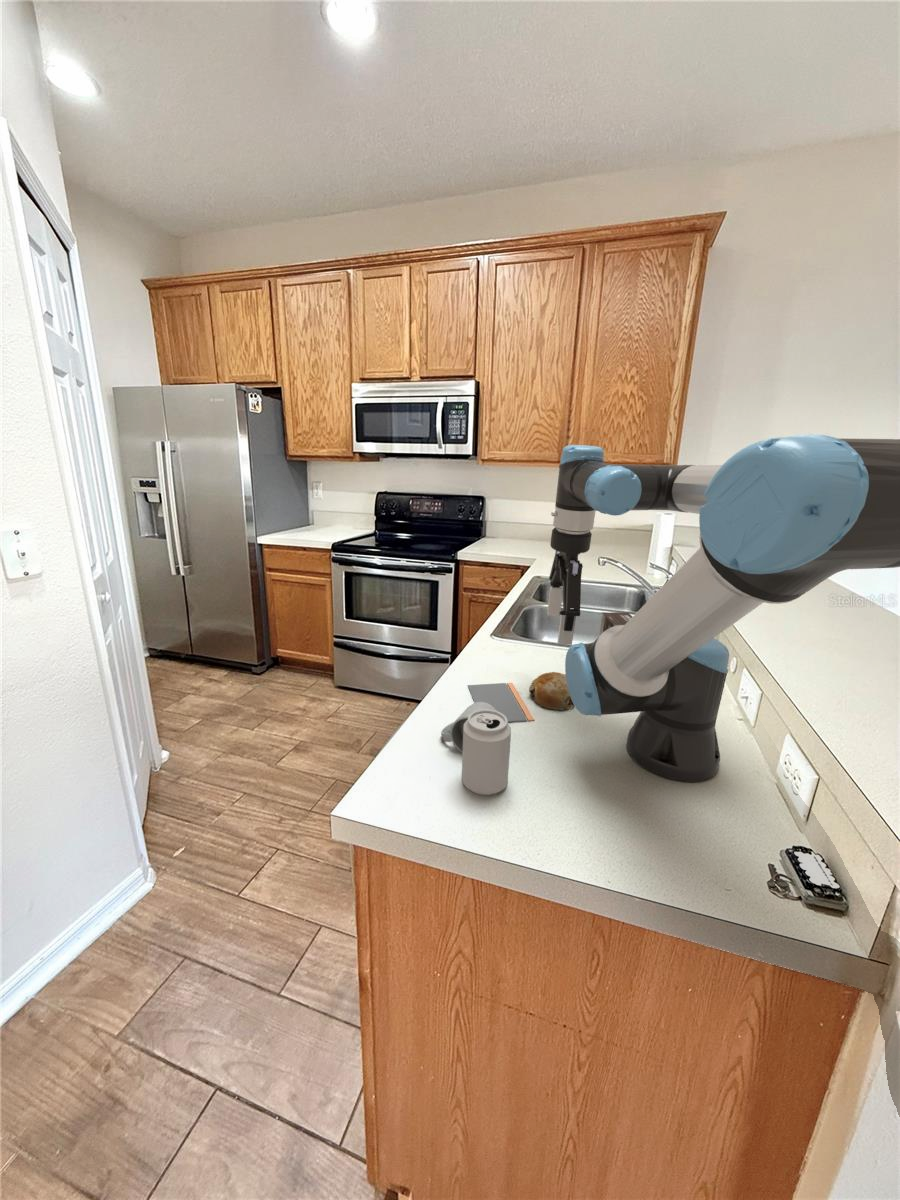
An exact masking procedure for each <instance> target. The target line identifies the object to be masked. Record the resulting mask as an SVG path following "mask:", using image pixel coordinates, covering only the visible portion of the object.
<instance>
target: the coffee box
mask: <svg viewBox="0 0 900 1200" xmlns="http://www.w3.org/2000/svg"><path fill="white" fill-rule="evenodd" d="M632 617H633V615H631V613H630V612H624V611H623V612H620V611H619V612H618V611H617V612H616V611H615V612H612V611H611V612H604V611H603V612H601V619H600V629H599V636H600V635H601V634H602V633H603V632H604V631H606V630H607V629H609V628H611V627H614V626H618V625H625V624H626V623H627V622H628V621H629V620H630V619H631V618H632ZM599 636H598V637H599Z"/></svg>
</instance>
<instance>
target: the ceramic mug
mask: <svg viewBox="0 0 900 1200" xmlns="http://www.w3.org/2000/svg"><path fill="white" fill-rule="evenodd" d="M483 709H488V710H495V711H497V709H496V708H495V707H494V706H493V705H491V704H489V703H487V702H476V703H474V702H473V703H472V704H470V705H468V707H466V709H464V711H463V712H462V713H461V714H460V715H459V716H458V717H457V718H456V719H455V720H454V722H451V723H449V724H448V725H446V726H444V728H443V729H441V732H440V735H441V738H442V740H443V742H446V743H452V744H453V745H454V747H455V748H456V749H457V750H458V751H459V752H460V753H462V754H463V728H464V723H465V722H466V721H467V720H468V716H469V715H470V714H471V713H473V712H474V711H477V710H483Z"/></svg>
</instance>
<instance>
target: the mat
mask: <svg viewBox="0 0 900 1200" xmlns="http://www.w3.org/2000/svg"><path fill="white" fill-rule="evenodd" d="M507 684H508V685H507ZM467 688H468V691H469V693H470V696H471V695H472V696H471V698H472V701H473V703H476V702H487V703H489V704H491V705H493V706H494V707H495V708H496V709H497V711H498V712H500V713H502V714H503V715H504V716H506V718H507V720H508V724H509V723H525V722H535V719H534V717H533V715H532V713H531V712H530V710H529V709H528V708H529V707H528V706H527V705H526V703H525V702H524V700H523V698H522V697H521V695H520V693H519V692H518V690H517V688H516V687H515V685H514V683H513V682H499V683H498V682H497V683H482V684H481V683H480V684H467ZM511 691H512V692H511Z"/></svg>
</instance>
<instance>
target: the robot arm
mask: <svg viewBox="0 0 900 1200" xmlns="http://www.w3.org/2000/svg"><path fill="white" fill-rule="evenodd" d="M604 452H605V451H604V449H603V448H602V447H600V446H597V445H596V446H595V445H586V444H570V445H569V444H568V445H566V446H565V447H563V449H562V452H561V457H560V462H559V465H558V468H559V469H558V478H557V487H556V495H555V503H554V506H555V507H554V509H555V510H554V511H551V513H550V515H551V516H552V517H553V520H552V521H553V522H552V525H553V527H554V528H553V529H552V530H551V536H550V538H551V539H550V547H551V549H552V550H554V551H555V553H554V556H553V562H552V566H551V569H550V573H549V576H548V579H549V580H550V582H549V584H550V588H549V594H548V595H549V596H548V603H547V612H546V615H547V616H550V617H551V616H553V617H560V622H559V628H558V635H557V641H556V642H557V644H558V645H570V646H569V647H568V649H567V651H566V654H565V659H564V660H565V661H564V662H565V664H564V670H565V671H564V672H565V673H564V674H566V681H567V686H568V691H569V694H570V697H571V700H572V702H573V704H574V708H575V709H576V710H577V711H578V713H580V714H581V715H584V716H593V717H594V716H595V717H596V716H597V717H601V716H605V715H606V716H607V715H617V714H627V713H639V715H638V716H637V718H636V720H635V721H634V724H633V725H632V726H631V728H630V729H629V731H628V733H627V738H626V750H627V753H628V755H630V757H631V758H632V759H633V761H635V763H637V765H639V766H640V767H642V768H644V769H645V770H647V771H649V772H650V773H653V774H654V775H657V776H660V777H663V778H666V779H669V780H672V781H678V782H683V783H684V782H685V783H699V782H703V781H704V782H705V781H707V780H710V779H711V778H713V777H715V776H716V774H717V773H718V770H719V766H720V761H721V752H720V748H719V743H718V735H717V730H716V725H717V718H718V713H719V711H720V705H721V701H722V696H723V694H724V693H723V692H724V688H725V684H726V680H727V675H728V673H729V669H728V668H729V667H728V666H729V661H730V652H729V651H730V650H729V649H728V648H727V646H726V645H725V644H724V643H722V642H721V641H720V640H718V639H716V637H718V636H719V635H720V634H721V633H723V632H724V631H727V629H729V628H730V627H731V626H733V625H735V623H737V622H738V621H740V620H742V618H744V617H745V616H747V615H748V614H749V613H751V612H753V611H754V610H755V609H756V608H758V607H759V606H761V605H763V603H766V604H771V605H772V604H775V605H777V604H778V605H779V604H787V603H791V602H792V601H795V600H796V599H797V600H798V599H799V598H800V597H801V596H803V595H804V594H806V593H808V592H809V591H811V590H813V589H814V588H815V587H817V586H818V585H820V584H821V583H823V582H824V581H826V580H828V579H829V578H830V577H832V576H833V575H836V574H838V573H840V572H842V571H846V570H864V569H865V570H867V569H868V570H869V569H892V568H893V569H894V568H900V438H897V439H896V438H839V437H838V438H837V437H833V436H830V435H825V434H817V433H816V434H815V433H810V434H809V433H808V434H806V433H805V434H795V435H792V436H783V437H782V436H781V437H779V436H778V437H772V438H767V439H763V440H760V441H757V442H754V443H752V444H750V445H749V444H748V446H746V447H743V448H742V449H740V450H739V451H737V452H736V453H735V454H733V455H732V456H731V457H730V458H728V459H727V460H726V461H725V462H724V463H723V464H698V465H696V464H676V465H675V464H674V465H673V464H666V465H665V464H660V465H659V464H658V465H657V464H655V465H654V464H653V465H652V464H626V463H625V464H624V463H623V464H621V463H619V464H617V463H616V464H614V463H605V457H604V455H605V453H604ZM630 511H672V512H679V513H691V514H697V515H699V518H698V521H699V536H698V537H699V546H700V547H699V548H698V549H697V550H696V551H695V553H693V554H692V555H691V556H690V558H689V559H688V560H686V562H685V563H683V565H681V567H680V568H679V569H678V570H677V571H675V573H673V575H672V576H671V577H670V578H668V580H667V581H666V582H665V583H664V584H663V585H661V587H660V588H659V589H658V590H657V591H656V592H655V594H653V596H651V597H650V599H648V600H647V601H646V602H645V604H643V606H641V607H640V609H639V610H637V612H636V613H634V615H632V618H631V619H630V620H629V621H628V622H627V623H626V624H625V625H618V626H614V627H611V628H609V629H607V630H606V631H604V632H603V633H602V634H601V635H600V634H599V635H600V636H598V637H597V638H596V640H594V641H593V642H588V643H585V642H579V643H575V644H573V640H574V633H575V626H576V619H577V617H580V616H581V601H582V600H581V597H582V594H581V593H582V574H583V573H582V572H583V567H584V566H583V562H582V563H581V562H580V560H579V555H580V554H585V553H587V552H588V551H589V550H590V549H591V548H590V547H591V543H592V542H591V541H592V532H591V531H592V530H593V529H594V524H595V517H596V512H599V513H600V514H604V515H605V514H606V515H609V516H622V515H624V514H626V513H628V512H630ZM562 607H563V608H562ZM561 609H562V610H561Z"/></svg>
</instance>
